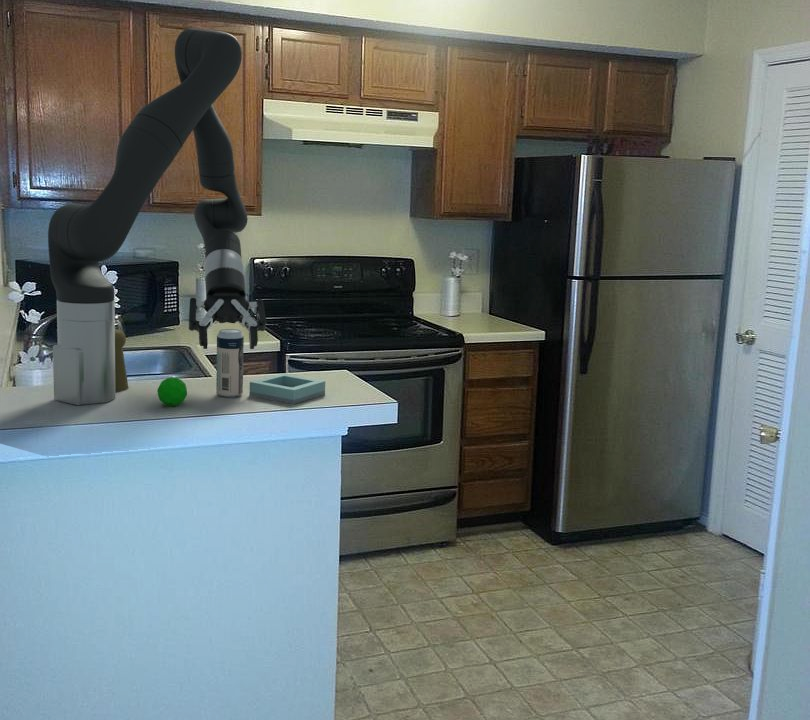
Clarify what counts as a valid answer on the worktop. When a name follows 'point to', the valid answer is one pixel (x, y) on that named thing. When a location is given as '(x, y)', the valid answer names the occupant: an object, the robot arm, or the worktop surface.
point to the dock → (287, 388)
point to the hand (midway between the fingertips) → (229, 346)
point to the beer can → (230, 362)
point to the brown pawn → (120, 362)
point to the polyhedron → (172, 391)
